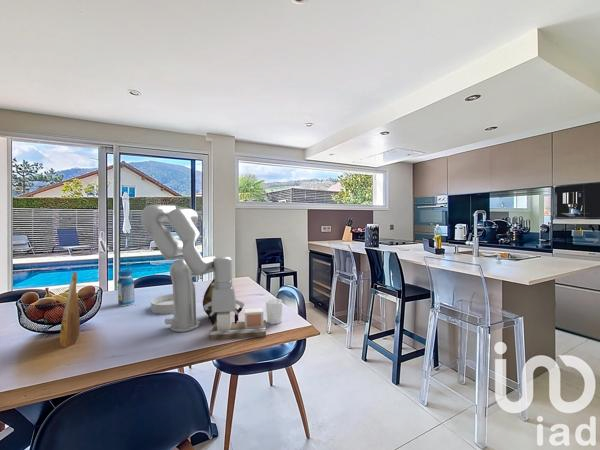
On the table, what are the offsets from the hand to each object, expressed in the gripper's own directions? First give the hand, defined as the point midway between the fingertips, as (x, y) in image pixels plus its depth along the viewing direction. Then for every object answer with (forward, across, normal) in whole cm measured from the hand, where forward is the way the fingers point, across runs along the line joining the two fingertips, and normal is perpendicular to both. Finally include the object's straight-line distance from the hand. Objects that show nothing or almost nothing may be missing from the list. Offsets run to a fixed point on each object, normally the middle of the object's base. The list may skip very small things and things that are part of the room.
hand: (224, 323), depth 127 cm
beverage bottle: (+4, -63, +50) cm, 81 cm away
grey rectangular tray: (+4, +6, 0) cm, 8 cm away
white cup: (+4, +22, +9) cm, 24 cm away
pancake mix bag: (+4, -63, +2) cm, 63 cm away
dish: (+4, -34, +40) cm, 53 cm away
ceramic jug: (+4, -5, +20) cm, 21 cm away
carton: (+2, +13, 0) cm, 13 cm away
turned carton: (+2, 0, 0) cm, 2 cm away
